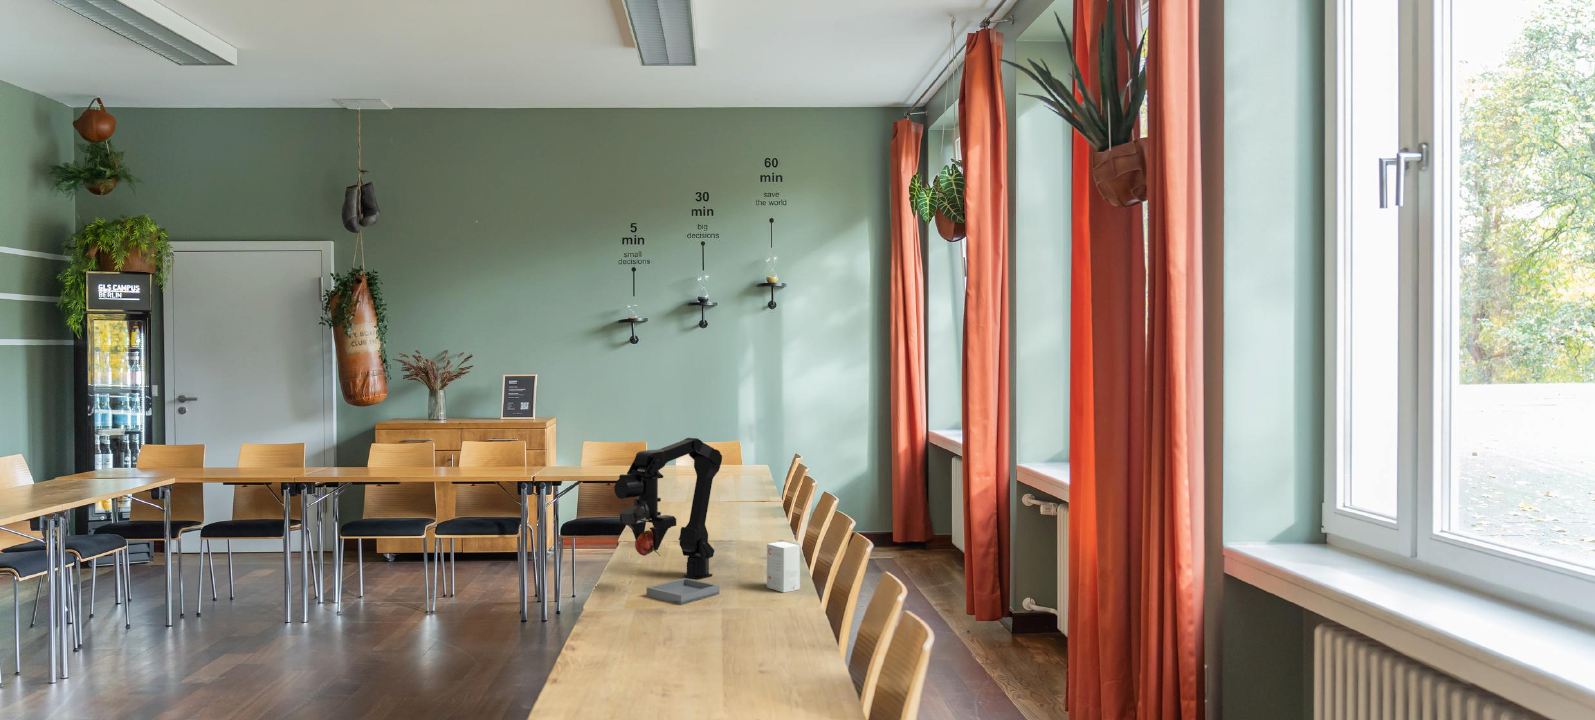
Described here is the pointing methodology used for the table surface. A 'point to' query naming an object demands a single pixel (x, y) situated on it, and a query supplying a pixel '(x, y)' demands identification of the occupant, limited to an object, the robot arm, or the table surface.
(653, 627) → the table surface
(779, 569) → the small box
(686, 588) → the tray
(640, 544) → the pomegranate
